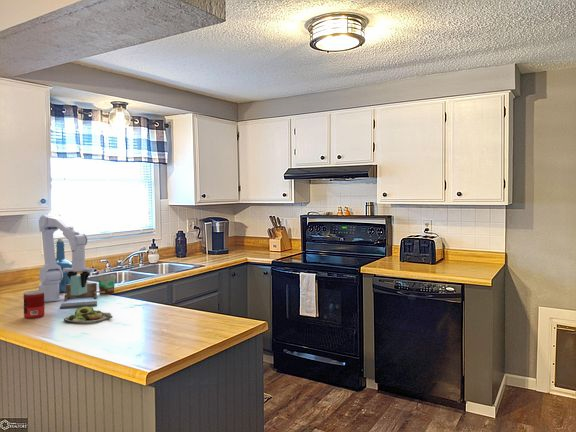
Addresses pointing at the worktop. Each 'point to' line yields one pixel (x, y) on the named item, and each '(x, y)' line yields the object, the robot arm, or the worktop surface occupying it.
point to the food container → (107, 284)
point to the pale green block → (77, 285)
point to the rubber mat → (78, 304)
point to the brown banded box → (90, 292)
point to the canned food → (34, 304)
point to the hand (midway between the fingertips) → (78, 287)
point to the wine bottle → (62, 265)
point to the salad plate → (87, 316)
